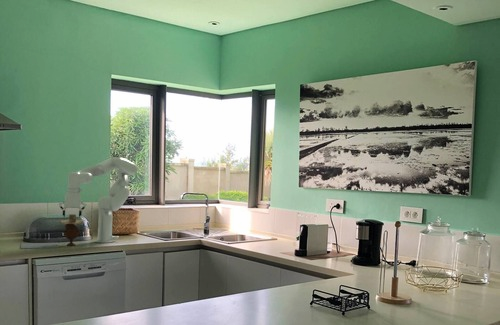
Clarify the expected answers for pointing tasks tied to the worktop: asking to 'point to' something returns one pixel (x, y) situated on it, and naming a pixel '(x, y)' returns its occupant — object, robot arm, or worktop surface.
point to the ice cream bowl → (71, 233)
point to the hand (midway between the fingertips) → (71, 216)
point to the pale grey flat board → (38, 245)
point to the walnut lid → (72, 220)
